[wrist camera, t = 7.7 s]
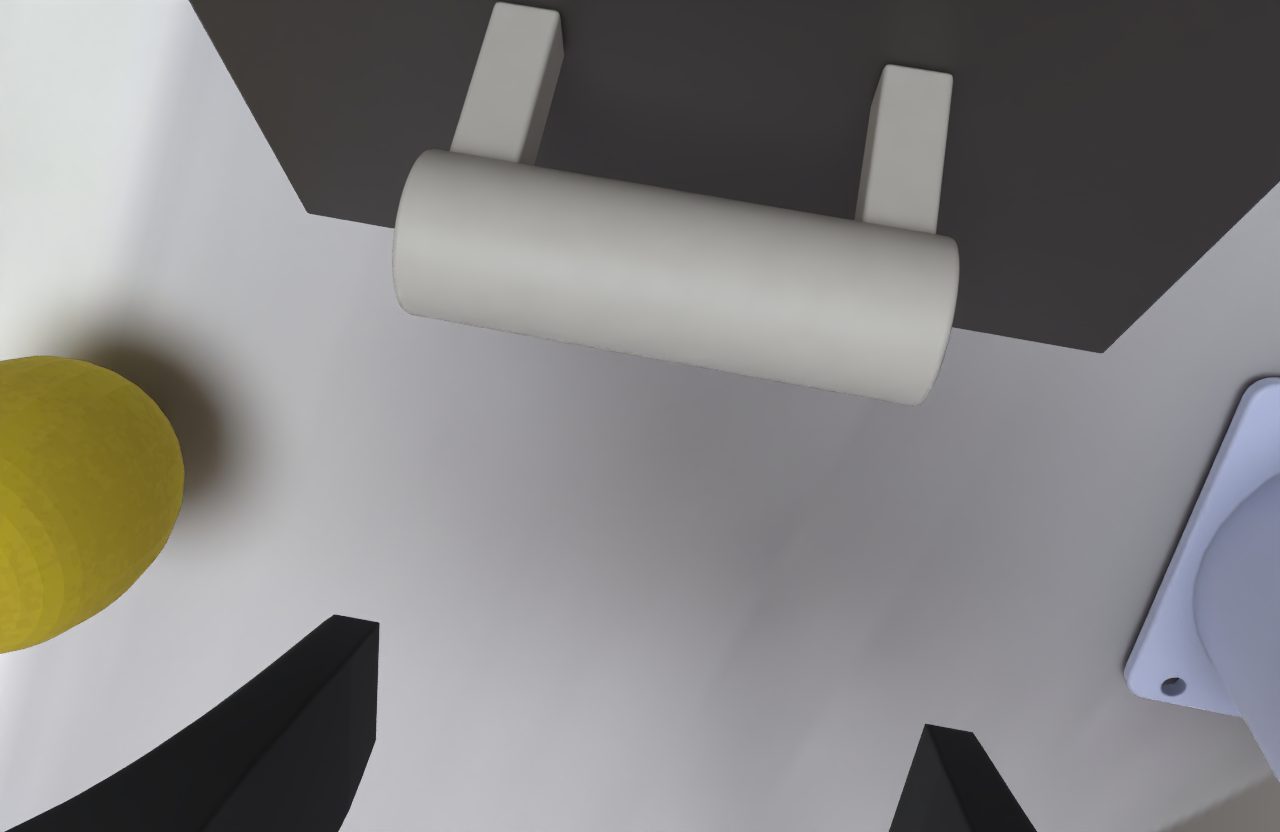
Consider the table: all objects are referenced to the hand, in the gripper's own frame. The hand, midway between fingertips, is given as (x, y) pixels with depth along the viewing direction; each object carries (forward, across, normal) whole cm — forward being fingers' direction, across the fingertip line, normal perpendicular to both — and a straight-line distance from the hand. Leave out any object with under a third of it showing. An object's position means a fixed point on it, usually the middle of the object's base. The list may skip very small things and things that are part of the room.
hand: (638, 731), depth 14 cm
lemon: (+11, +13, +3) cm, 17 cm away
